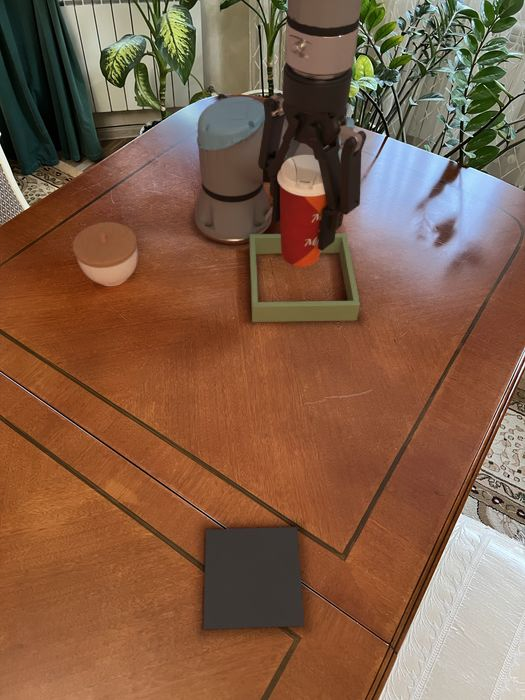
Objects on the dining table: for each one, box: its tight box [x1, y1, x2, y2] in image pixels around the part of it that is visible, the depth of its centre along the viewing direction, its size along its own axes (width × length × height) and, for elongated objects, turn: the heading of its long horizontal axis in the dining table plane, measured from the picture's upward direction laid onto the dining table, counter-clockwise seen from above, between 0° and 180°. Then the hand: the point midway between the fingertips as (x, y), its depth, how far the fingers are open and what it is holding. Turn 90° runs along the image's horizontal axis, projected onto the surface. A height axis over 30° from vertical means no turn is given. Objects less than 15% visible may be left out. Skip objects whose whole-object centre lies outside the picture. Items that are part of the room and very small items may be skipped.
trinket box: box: [72, 221, 139, 287], centre depth 100 cm, size 11×11×9 cm
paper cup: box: [277, 155, 328, 268], centre depth 77 cm, size 8×8×14 cm
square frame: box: [249, 232, 361, 323], centre depth 102 cm, size 18×18×4 cm
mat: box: [202, 526, 305, 631], centre depth 72 cm, size 12×12×1 cm
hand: (302, 230), depth 80 cm, fingers closed on paper cup, 8 cm apart
